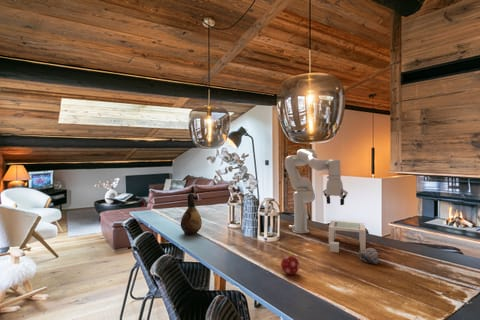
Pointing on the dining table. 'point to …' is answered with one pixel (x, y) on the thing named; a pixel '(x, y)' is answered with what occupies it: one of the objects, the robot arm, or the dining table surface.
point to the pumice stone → (369, 256)
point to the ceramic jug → (191, 218)
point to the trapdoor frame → (361, 230)
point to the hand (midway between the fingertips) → (335, 204)
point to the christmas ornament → (290, 264)
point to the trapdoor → (347, 225)
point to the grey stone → (334, 247)
